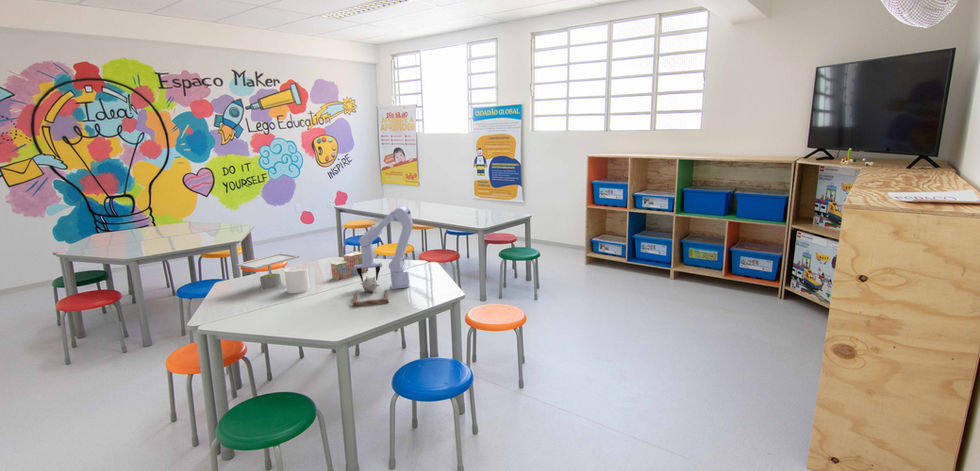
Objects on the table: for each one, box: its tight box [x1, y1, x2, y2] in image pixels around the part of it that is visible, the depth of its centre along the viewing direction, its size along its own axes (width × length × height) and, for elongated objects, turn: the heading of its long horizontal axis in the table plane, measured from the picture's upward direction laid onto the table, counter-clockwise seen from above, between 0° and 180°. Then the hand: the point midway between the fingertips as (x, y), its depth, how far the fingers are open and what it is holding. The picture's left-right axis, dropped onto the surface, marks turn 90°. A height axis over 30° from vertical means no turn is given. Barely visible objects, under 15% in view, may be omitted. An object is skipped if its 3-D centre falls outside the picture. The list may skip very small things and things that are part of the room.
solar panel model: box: [236, 252, 300, 289], centre depth 280 cm, size 28×17×15 cm, turn 148°
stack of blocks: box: [330, 250, 369, 280], centre depth 296 cm, size 21×6×12 cm, turn 140°
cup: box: [283, 265, 311, 295], centre depth 270 cm, size 12×12×12 cm
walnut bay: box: [352, 289, 390, 308], centre depth 250 cm, size 17×14×2 cm
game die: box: [361, 276, 380, 294], centre depth 263 cm, size 9×8×10 cm
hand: (369, 280), depth 272 cm, fingers open, 7 cm apart
